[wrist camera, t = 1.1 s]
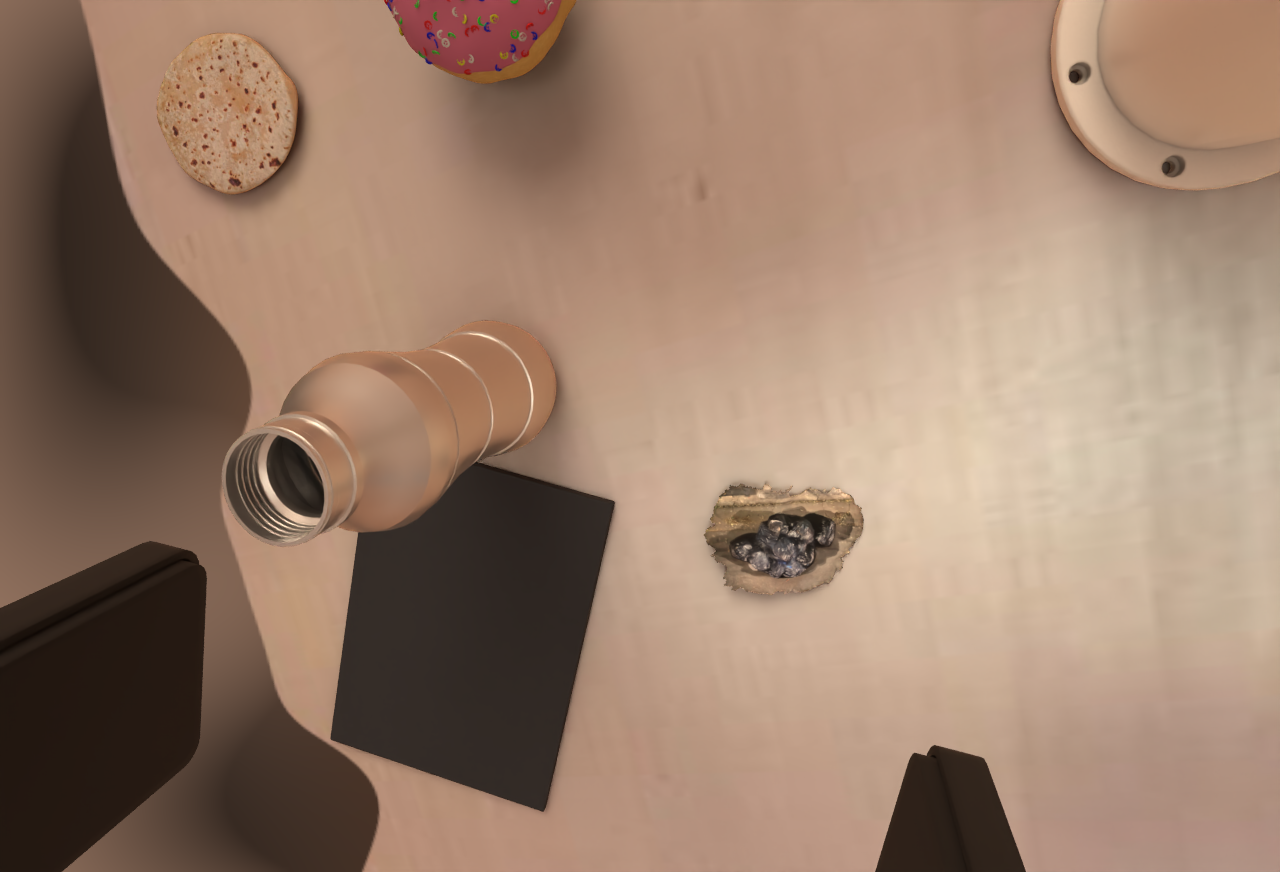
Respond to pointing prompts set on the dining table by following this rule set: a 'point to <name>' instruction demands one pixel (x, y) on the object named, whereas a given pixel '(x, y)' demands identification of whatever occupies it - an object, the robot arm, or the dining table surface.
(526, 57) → the cupcake
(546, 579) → the mat
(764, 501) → the mineral rock
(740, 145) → the dining table surface
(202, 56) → the flatbread
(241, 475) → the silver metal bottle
